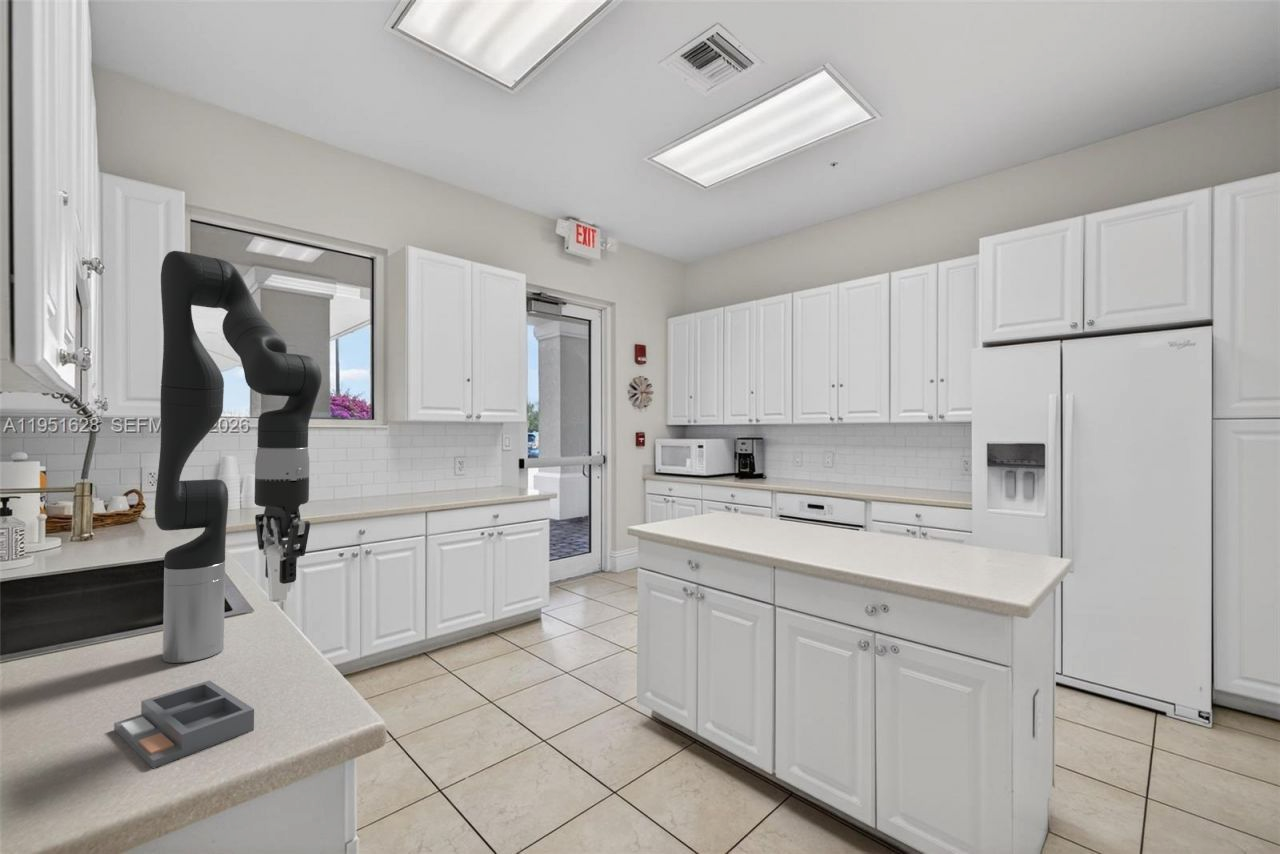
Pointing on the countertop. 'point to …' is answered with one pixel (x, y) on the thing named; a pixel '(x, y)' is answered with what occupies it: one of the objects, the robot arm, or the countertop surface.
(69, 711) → the countertop surface
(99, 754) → the countertop surface
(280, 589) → the milkshake
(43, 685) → the countertop surface
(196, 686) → the dock
